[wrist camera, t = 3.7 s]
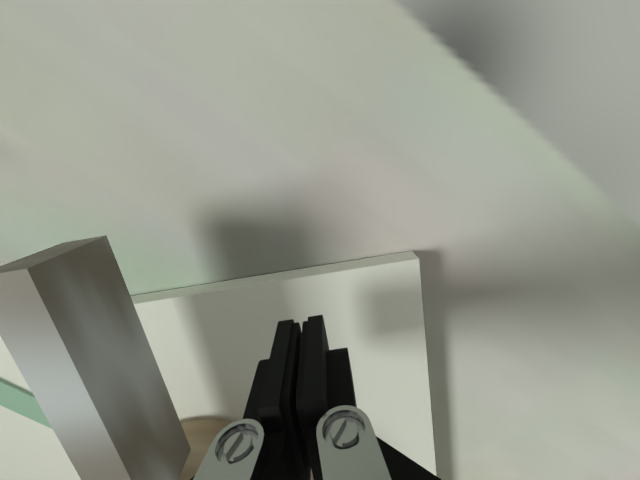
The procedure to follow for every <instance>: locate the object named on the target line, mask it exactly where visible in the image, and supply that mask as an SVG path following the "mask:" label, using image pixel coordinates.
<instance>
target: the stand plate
mask: <svg viewBox="0 0 640 480" xmlns="http://www.w3.org/2000/svg"><path fill="white" fill-rule="evenodd" d="M130 297H131V299H132V302H133V304H134V307H135V309H136V312H137V314H138V317H139V319H140V322H141V324H142V327H143V329H144V332H145V335H146V337H147V340H148V342H149V345H150V347H151V350H152V352H153V355H154V357H155V360H156V362H157V365H158V367H159V370H160V372H161V375H162V377H163V380H164V382H165V385H166V387H167V390H168V392H169V395H170V398H171V400H172V403H173V405H174V408H175V410H176V413H177V415H178V418H179V420H180V423H181V422H186V421H196V420H218V421H226V422H235V421H237V420H241V419H242V418H243V415H244V411H245V408H246V404H247V401H248V397H249V394H250V390H251V387H252V383H253V380H254V376H255V373H256V369H257V366H258V363H259V361H260V360H264V359H269V358H270V354H271V349H272V345H273V341H274V337H275V333H276V328H277V324H278V321H284V320H290V319H293V320H294V323H296V322H299V323H300V327H301V332H302V325H303V321H308V317H310V316H317V315H323V319H324V324H325V329H326V335H327V340H328V345H329V350H333V349H340V348H348V353H349V359H350V365H351V371H352V377H353V384H354V391H355V398H356V405H357V408H359V409H361V410H362V411H363V412H364V413H365V414H367V416H368V418H369V420H370V422H371V424H372V427H373V430H374V433H375V435H376V436H377V437H378V438H380V439H381V440H383V441H384V442H386V443H387V444H389V445H390V446H392V447H393V448H395V449H396V450H398V451H399V452H401V453H402V454H404V455H405V456H407V457H408V458H410V459H411V460H413V461H414V462H416V463H417V464H419V465H420V466H422V467H423V468H425V469H426V470H428V471H429V472H431V473H432V474H434V475H435V476H436V464H435V451H434V439H433V426H432V414H431V401H430V389H429V376H428V364H427V351H426V339H425V326H424V314H423V301H422V289H421V276H420V264H419V258H418V257H417V256H416V255H415V254H414V252H413V251H408V252H402V253H396V254H390V255H383V256H377V257H371V258H365V259H359V260H352V261H346V262H340V263H334V264H327V265H321V266H315V267H309V268H302V269H296V270H290V271H284V272H277V273H271V274H265V275H259V276H253V277H246V278H240V279H234V280H228V281H221V282H215V283H209V284H203V285H196V286H190V287H184V288H178V289H172V290H165V291H159V292H153V293H147V294H140V295H134V296H130ZM311 474H312V470H311ZM312 476H313V474H312ZM0 480H81V479H80V477H79V475H78V473H77V471H76V470H75V468H74V466H73V464H72V463H71V461H70V459H69V457H68V455H67V454H66V452H65V450H64V448H63V446H62V445H61V443H60V441H59V439H58V438H57V436H56V434H55V432H54V430H53V429H52V427H51V425H50V423H49V422H48V420H47V418H46V416H45V414H44V413H43V411H42V409H41V407H40V406H39V404H38V402H37V400H36V398H35V397H34V395H33V393H32V391H31V390H30V388H29V386H28V384H27V382H26V381H25V379H24V377H23V375H22V374H21V372H20V370H19V368H18V366H17V365H16V363H15V361H14V359H13V357H12V356H11V354H10V352H9V350H8V349H7V347H6V345H5V343H4V341H3V340H2V338H1V336H0Z"/></svg>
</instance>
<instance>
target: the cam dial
mask: <svg viewBox="0 0 640 480" xmlns="http://www.w3.org/2000/svg"><path fill="white" fill-rule="evenodd" d="M0 336H1V338H2V340H3V341H4V343H5V345H6V347H7V349H8V350H9V352H10V354H11V356H12V357H13V359H14V361H15V363H16V365H17V366H18V368H19V370H20V372H21V374H22V375H23V377H24V379H25V381H26V382H27V384H28V386H29V388H30V390H31V391H32V393H33V395H34V397H35V398H36V400H37V402H38V404H39V406H40V407H41V409H42V411H43V413H44V414H45V416H46V418H47V420H48V422H49V423H50V425H51V427H52V429H53V430H54V432H55V434H56V436H57V438H58V439H59V441H60V443H61V445H62V446H63V448H64V450H65V452H66V454H67V455H68V457H69V459H70V461H71V463H72V464H73V466H74V468H75V470H76V471H77V473H78V475H79V477H80V479H81V480H190V479H191V478H192V477H193V476H195V475H196V473H197V471H198V469H199V467H200V465H201V463H202V461H203V459H204V457H205V455H206V453H207V451H208V449H209V447H210V445H211V443H212V441H213V440H214V438H215V437H216V435H217V434H218V433H219V432H220V431H221V430H222V429H223V428H224V427H226V426H227V425H229V424H230V423H232V422H226V421H218V420H196V421H186V422H181V423H180V420H179V418H178V415H177V413H176V410H175V408H174V405H173V403H172V400H171V398H170V395H169V392H168V390H167V387H166V385H165V382H164V380H163V377H162V375H161V372H160V370H159V367H158V365H157V362H156V360H155V357H154V355H153V352H152V350H151V347H150V345H149V342H148V340H147V337H146V335H145V332H144V329H143V327H142V324H141V322H140V319H139V317H138V314H137V312H136V309H135V307H134V304H133V302H132V299H131V297H130V294H129V292H128V289H127V287H126V284H125V282H124V279H123V277H122V274H121V271H120V269H119V266H118V264H117V261H116V259H115V256H114V254H113V251H112V249H111V246H110V244H109V241H108V239H107V236H100V237H94V238H89V239H83V240H77V241H71V242H65V243H61V244H59V245H56V246H53V247H51V248H48V249H45V250H43V251H40V252H37V253H35V254H32V255H29V256H27V257H24V258H21V259H19V260H16V261H13V262H11V263H8V264H5V265H3V266H0ZM311 480H314V478H313V476H312V474H311Z"/></svg>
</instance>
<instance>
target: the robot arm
mask: <svg viewBox="0 0 640 480" xmlns="http://www.w3.org/2000/svg"><path fill="white" fill-rule="evenodd" d="M311 470H312V474H313V478H314V480H441V479H440V478H438V477H437V476H435V475H434V474H432V473H431V472H429V471H428V470H426V469H425V468H423V467H422V466H420V465H419V464H417V463H416V462H414V461H413V460H411V459H410V458H408V457H407V456H405V455H404V454H402V453H401V452H399V451H398V450H396V449H395V448H393V447H392V446H390V445H389V444H387V443H386V442H384V441H383V440H381V439H380V438H378V437H377V436H376V435H375V433H374V430H373V427H372V424H371V422H370V420H369V418H368V416H367V414H365V413H364V412H363V411H362V410H361V409H359V408H357V405H356V398H355V391H354V384H353V377H352V371H351V365H350V359H349V353H348V348H340V349H333V350H329V345H328V340H327V335H326V329H325V324H324V319H323V315H317V316H310V317H308V321H303V325H302V332H301V327H300V323H299V322H296V323H294V320H293V319H290V320H284V321H278V324H277V328H276V333H275V337H274V341H273V345H272V349H271V354H270V358H269V359H264V360H260V361H259V363H258V366H257V369H256V373H255V376H254V380H253V383H252V387H251V390H250V394H249V397H248V401H247V404H246V408H245V411H244V415H243V418H242V419H241V420H237V421H235V422H232V423H230V424H229V425H227V426H226V427H224V428H223V429H222V430H221V431H220V432H219V433H218V434H217V435H216V437H215V438H214V440H213V441H212V443H211V445H210V447H209V449H208V451H207V453H206V455H205V457H204V459H203V461H202V463H201V465H200V467H199V469H198V471H197V473H196V475H195V476H193V477H192V478H191V479H190V480H311Z"/></svg>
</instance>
